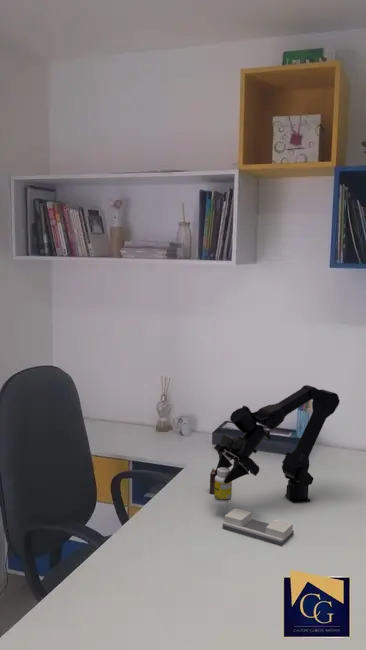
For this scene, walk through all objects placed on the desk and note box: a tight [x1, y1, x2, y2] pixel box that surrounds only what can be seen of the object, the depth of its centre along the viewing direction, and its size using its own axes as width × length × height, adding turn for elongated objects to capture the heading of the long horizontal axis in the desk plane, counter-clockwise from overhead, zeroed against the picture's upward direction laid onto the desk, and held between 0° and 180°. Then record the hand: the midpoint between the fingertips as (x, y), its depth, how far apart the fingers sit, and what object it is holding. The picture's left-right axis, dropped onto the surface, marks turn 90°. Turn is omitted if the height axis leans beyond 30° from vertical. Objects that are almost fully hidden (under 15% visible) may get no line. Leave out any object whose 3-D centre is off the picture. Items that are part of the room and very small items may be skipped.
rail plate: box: [222, 507, 295, 547], centre depth 181 cm, size 19×9×4 cm, turn 58°
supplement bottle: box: [213, 467, 233, 503], centre depth 192 cm, size 5×5×10 cm
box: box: [209, 467, 217, 495], centre depth 211 cm, size 6×6×7 cm
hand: (219, 479), depth 191 cm, fingers closed on supplement bottle, 5 cm apart
